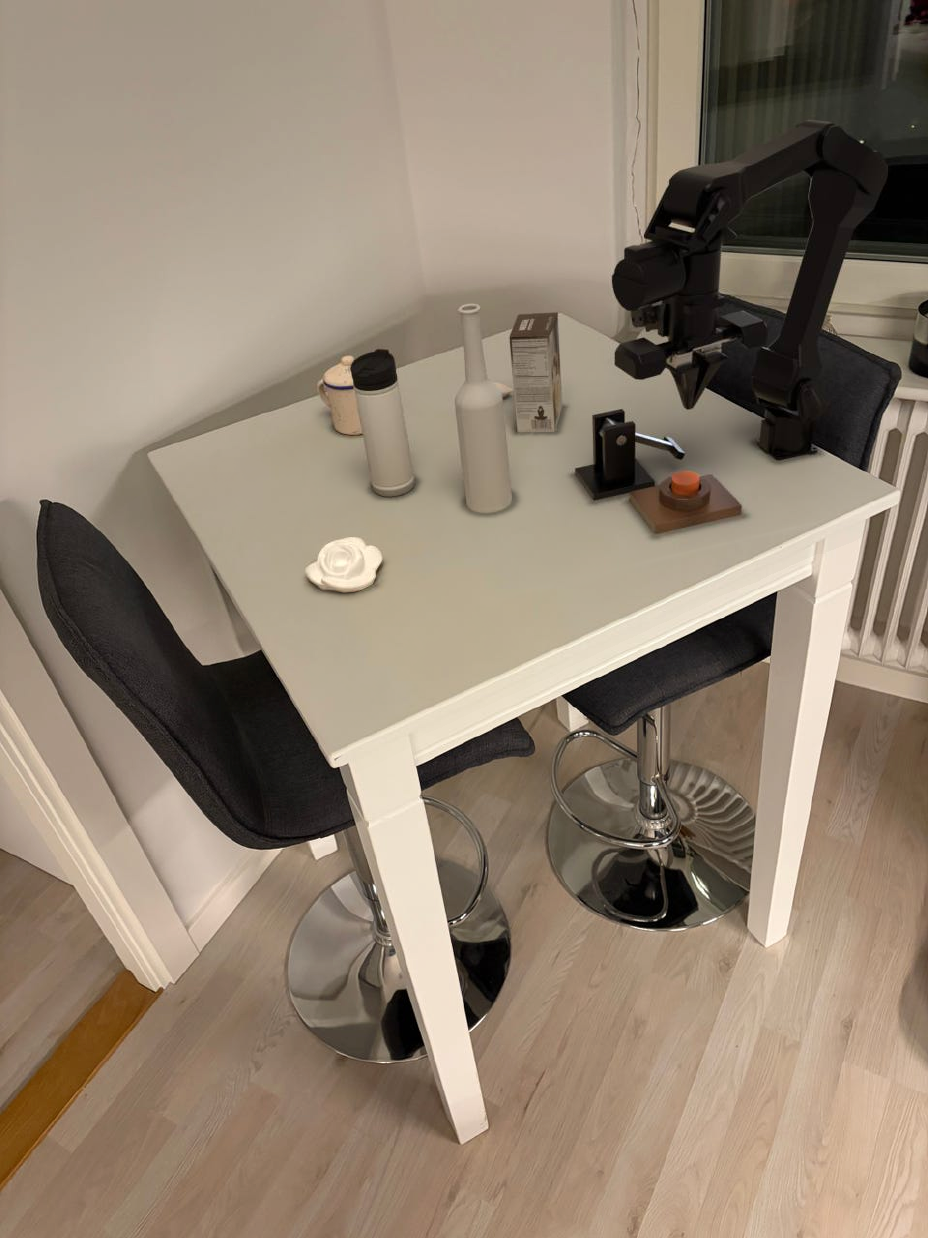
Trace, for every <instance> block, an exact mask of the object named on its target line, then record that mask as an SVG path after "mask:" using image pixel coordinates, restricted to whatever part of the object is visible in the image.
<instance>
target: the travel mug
mask: <svg viewBox="0 0 928 1238" xmlns="http://www.w3.org/2000/svg"><path fill="white" fill-rule="evenodd" d="M395 359H396V358H395V356H394V355H393V353H390V351H389V349H385V348H376V349H375V350H374V351H370V352H367V353H364V354H362V355H359V356H358V357H356V358H354V361H353V362H352V364H351V366H350V370H351V375H352V379H353V387H354V392H355V397H356V403H357V408H358V413H359V418H360V423H361V428H362V433H363V434H362V438H363V444H364V448H365V454H366V458H367V463H368V469H369V474H370V479H371V484H372V489H373V491H374V492H375V494H377V495H379V496H382V497H387V498H389V497H391V498H392V497H399V496H402V495H405V494H407V493H409V492H410V491H411V490H412V489H413V488H414V487H415V484H416V481H415V474H414V468H413V462H412V457H411V456H412V455H411V450H410V449H411V448H410V444H409V443H410V442H409V437H408V431H407V426H406V419H405V413H404V406H403V401H402V395H401V388H400V383H399V377H398V373H397V365H396V360H395Z"/></svg>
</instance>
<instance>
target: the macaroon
mask: <svg viewBox="0 0 928 1238" xmlns="http://www.w3.org/2000/svg"><path fill="white" fill-rule="evenodd" d="M492 383H493V384H494V385H495V386H496V387H497V388H498V389H499V390H500V392H501V393H502V398H503V399H504V398H505V397H506V396H508V395H509V394H511V393H513V392H514V389H512V388H511V387H509V386H508V385H505V384H504V383H502V382H496V381H495V382H494V381H493V382H492Z"/></svg>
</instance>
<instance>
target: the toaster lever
mask: <svg viewBox="0 0 928 1238" xmlns="http://www.w3.org/2000/svg"><path fill="white" fill-rule="evenodd" d="M621 423H623V422H619V421H616V420H612V419H609V418H606V419H605V422H604V424H603V426H602V428H603V427H607V426H612V425H616V424H621ZM602 428H601V430H600V432H599V434H600V435H601V436H602V437H603V431H602ZM635 443H637V444H641V445H644V446H647V447H651V448H655V449H659V450H662V451H665V452H669V454H671V456H673V457H674V458H675V459H676V460H679V461H682V460H683V459H684V457H685V456H686V452H685V451H684V450H683V449H682V448H681V447H680V446H679V444H677V442H675V441H674V439H673V438H671V437H670V436H664V438H663V439H660V438H655V437H652V436H649V435H645V434H642V433H639V432H635Z"/></svg>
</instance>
